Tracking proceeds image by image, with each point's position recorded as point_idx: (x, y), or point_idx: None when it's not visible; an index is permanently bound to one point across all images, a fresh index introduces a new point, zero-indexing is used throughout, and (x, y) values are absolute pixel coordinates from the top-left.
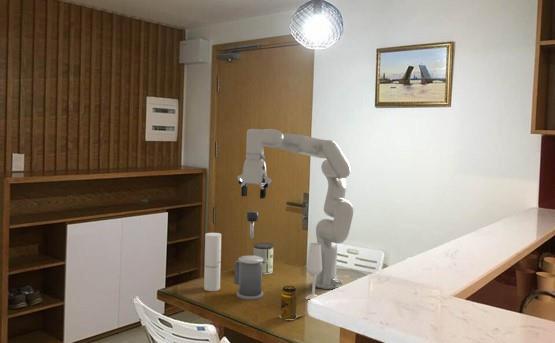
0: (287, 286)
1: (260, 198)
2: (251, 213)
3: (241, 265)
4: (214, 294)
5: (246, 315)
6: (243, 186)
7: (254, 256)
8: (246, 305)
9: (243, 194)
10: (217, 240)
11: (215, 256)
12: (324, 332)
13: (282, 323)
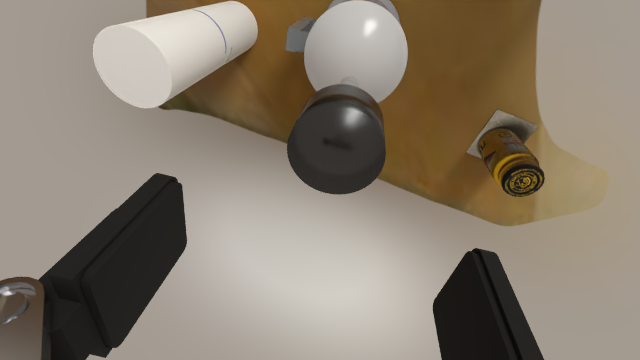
0: (517, 175)
1: (439, 302)
2: (345, 192)
3: None
4: (270, 72)
5: (398, 165)
6: (78, 350)
7: (354, 15)
8: None
9: (175, 255)
10: (182, 83)
11: (211, 70)
12: (582, 189)
13: (485, 177)
